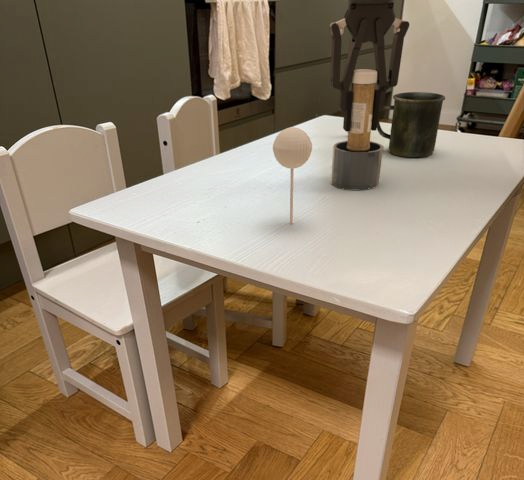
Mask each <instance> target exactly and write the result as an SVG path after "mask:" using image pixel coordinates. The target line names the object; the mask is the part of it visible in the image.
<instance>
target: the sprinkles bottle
mask: <svg viewBox="0 0 524 480" xmlns="http://www.w3.org/2000/svg"><path fill="white" fill-rule="evenodd" d="M350 86H351V87H350V91H351V92H353V98H352V110H351V123H350V131H348V132H347V141H348V142H347V146H346V148H347V149H348V150H350V151H356V152H362V151H367V150H369V149H370V141H371V133H372V130H371V127H372V116H373V102H374V92H375V89H376V86H377V71H376V69H370V68H362V69H361V68H360V69H354V73H353V77H352V80H351V84H350Z"/></svg>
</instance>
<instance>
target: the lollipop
mask: <svg viewBox="0 0 524 480" xmlns="http://www.w3.org/2000/svg"><path fill="white" fill-rule="evenodd" d="M312 150H313V143H312V140H311V138H310V136H309V135H308V134H307V132H305V130H303V129H301V128H299V127H295V126H293V127H287V128H285V129H283V130H281V131H280V132H279V133H278V134H277V135H276V137H275V139H274V141H273V143H272V153H273V155H274V157H275V160H276V161H277V162H278V164H279V165H281V166H282V167H284V168H286V169H290V188H289V189H290V190H289V191H290V192H289V224H290V225H293V224H294V223H293V222H294V221H293V219H294V173H295V172H294V170H295V169H298V168H301V167H302V166H304V165H305V164H306V163H307V162H308V161H309V159H310V157H311V154H312ZM292 223H293V224H292Z"/></svg>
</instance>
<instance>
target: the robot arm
mask: <svg viewBox="0 0 524 480" xmlns="http://www.w3.org/2000/svg"><path fill="white" fill-rule="evenodd" d="M394 7H395V0H348V1H347V9H346V12H345V14H344V17H343V18H342V19H340V20H337V21H335V22H333V21H332V22H330V23H329V25H328V29H329V32H330V36H331V57H330V61H331V62H330V86H331V87H332V88H334V89H336V90H338V91H339V104H338V107H339V111H340V112H343V121H342V122H343V124H342V129H343V130H344V131H345V132H347V131H350V123H351V110H352V98H353V92H351V84H352V82H351V80H352V77H353V73H354V70H356V65H357V61H358V58H359V55H360V52H361V49H362V46H363V44H365V43H369V42H370V43H372V47H373V54H374V65H375V70H376V71H377V82H376V87H377V89H376V88H375V92H374V102H373V116H372V127H371V132H373V131H378V130H377V121H378V111H379V110H383V108H384V106H385V103H386V96H387V92H388V90H389V89H391V88H395V87H397V85H398V83H399V75H400V69H401V63H402V57H403V56H402V55H403V48H404V41H405V37H406V34H407V33H408V30H409V29H410V22H409V21H408V20H402V19H401V18H398V17H397V16H396V13H395V8H394ZM391 27H392V33H393V38H392V43H391V50H390V51H391V52H390V59H389V66H388V74H387V68H386V54H385V47H386V46H385V35H387V33H388V31H389V30H390V28H391ZM345 28H346V29H347V30H348V31H349V33H350V35H351V40H350V45H349V46H350V47H349V51H348V54H347V58H346V62H345V66H344V69H343V73H342V78H341V62H342V61H341V59H342V36H343V35H344V33H345ZM340 80H341V81H340Z"/></svg>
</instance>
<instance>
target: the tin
mask: <svg viewBox="0 0 524 480" xmlns="http://www.w3.org/2000/svg"><path fill="white" fill-rule="evenodd" d="M347 142H348V140H343V141H339V142H336V143H335V144H334V145H333V147H332V163H331V164H332V165H331V184H332V186H334V185H335V186H334V187H336V186H337V187H336V188H338V187H340V188H339V189H341V188H344V189H343V190H346V189H368V188H372V189H374V188H373V187H375V188H377V187H378V186H379V185H378V184H380V178H381V169H382V161H383V152H384V145H382V144H381V143H378V142H375V141H372V140H370V149H369V150H367V151H362V152H356V151H350V150H348V149H347V148H346V146H347ZM377 185H378V186H377ZM376 186H377V187H376ZM368 190H369V189H368Z"/></svg>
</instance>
